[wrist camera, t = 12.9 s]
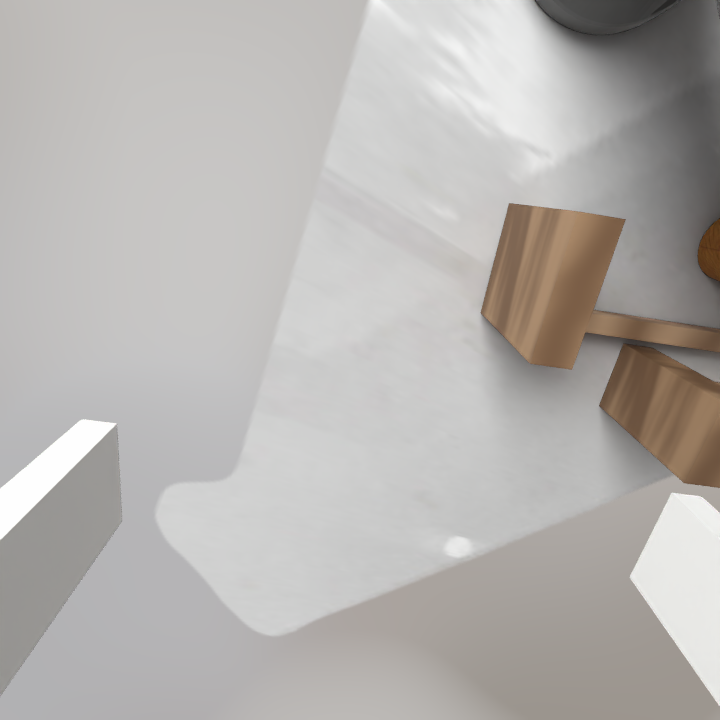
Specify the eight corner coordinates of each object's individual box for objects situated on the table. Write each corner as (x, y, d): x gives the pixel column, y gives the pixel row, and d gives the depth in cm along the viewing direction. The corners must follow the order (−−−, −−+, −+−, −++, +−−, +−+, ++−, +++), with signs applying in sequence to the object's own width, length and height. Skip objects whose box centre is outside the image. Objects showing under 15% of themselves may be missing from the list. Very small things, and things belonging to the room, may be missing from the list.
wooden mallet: (599, 405, 47) (684, 483, 34) (623, 343, 44) (724, 403, 32) (715, 421, 47) (838, 503, 35) (745, 361, 45) (889, 427, 33)
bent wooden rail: (480, 312, 42) (530, 363, 30) (538, 89, 36) (632, 41, 24) (746, 352, 44) (893, 415, 32) (850, 147, 37) (1086, 129, 25)
